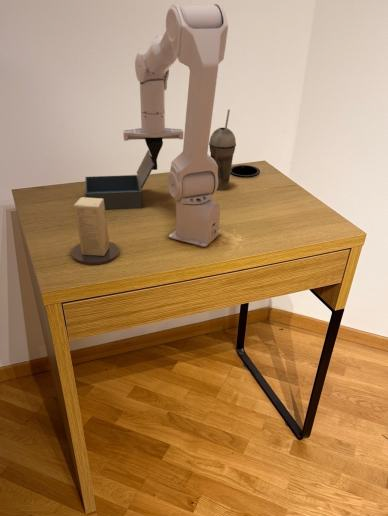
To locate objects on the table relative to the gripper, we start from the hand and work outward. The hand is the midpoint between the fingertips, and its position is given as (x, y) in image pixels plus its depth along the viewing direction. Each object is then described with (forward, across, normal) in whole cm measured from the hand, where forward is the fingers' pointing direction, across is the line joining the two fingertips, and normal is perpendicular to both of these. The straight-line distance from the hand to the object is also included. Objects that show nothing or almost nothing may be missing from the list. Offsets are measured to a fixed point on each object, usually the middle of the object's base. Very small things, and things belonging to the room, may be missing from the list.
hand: (154, 168), depth 126 cm
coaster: (+8, +16, +29) cm, 34 cm away
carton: (+8, +11, 0) cm, 13 cm away
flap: (0, +2, 0) cm, 3 cm away
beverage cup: (+8, -19, -6) cm, 22 cm away
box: (+7, +16, +29) cm, 34 cm away
